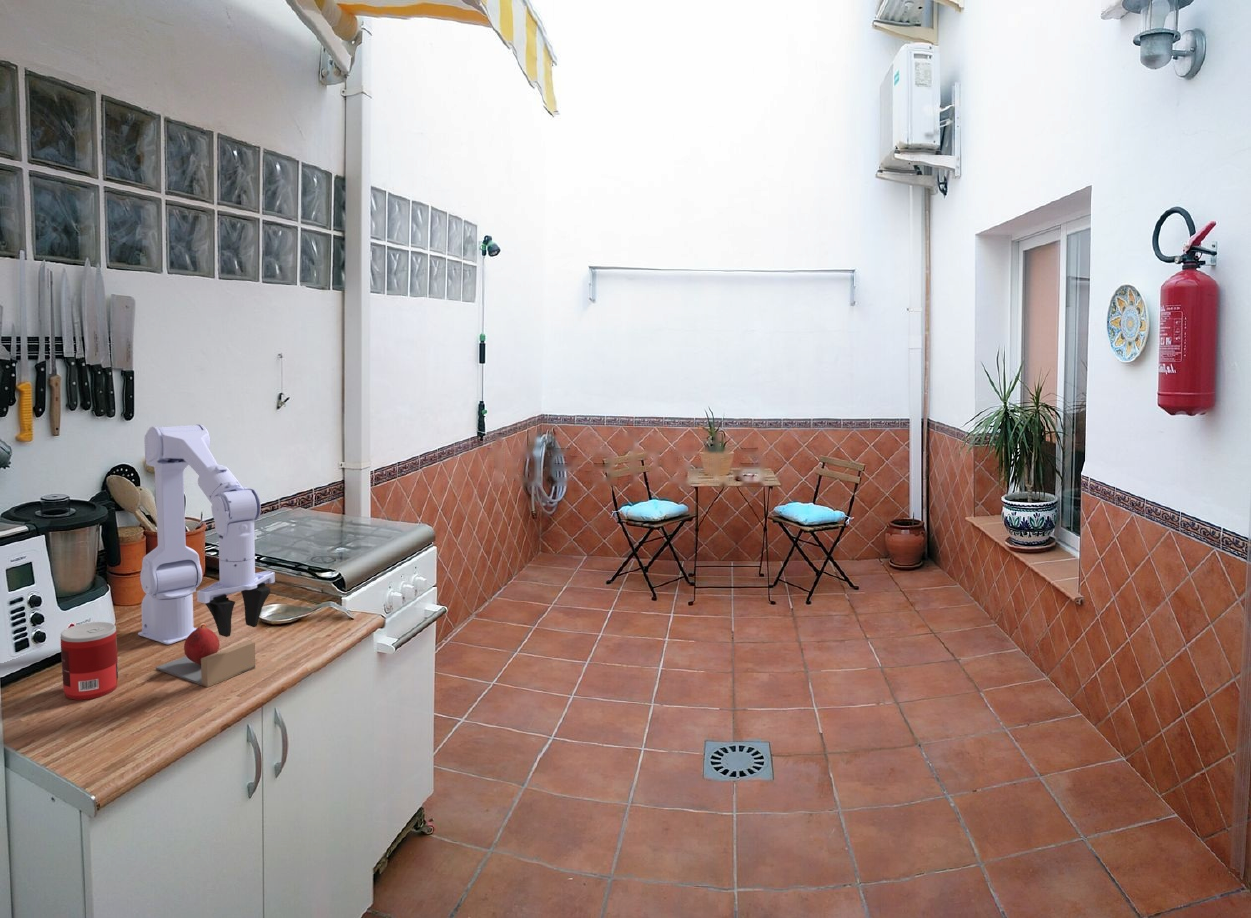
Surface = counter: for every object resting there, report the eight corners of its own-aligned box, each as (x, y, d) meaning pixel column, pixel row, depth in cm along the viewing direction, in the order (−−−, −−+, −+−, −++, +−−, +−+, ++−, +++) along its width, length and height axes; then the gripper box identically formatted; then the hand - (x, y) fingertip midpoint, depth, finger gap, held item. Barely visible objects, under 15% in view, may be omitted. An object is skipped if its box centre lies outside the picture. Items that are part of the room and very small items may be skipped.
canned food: (129, 685, 142) (126, 626, 140) (85, 704, 135) (82, 641, 133) (97, 677, 144) (94, 618, 143) (52, 695, 137) (49, 633, 135)
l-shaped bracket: (155, 669, 149) (155, 643, 148) (204, 651, 158) (204, 626, 157) (207, 687, 143) (207, 660, 142) (255, 667, 152) (254, 642, 151)
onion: (204, 673, 147) (203, 631, 146) (176, 668, 149) (176, 627, 147) (226, 661, 153) (225, 620, 152) (199, 656, 154) (199, 616, 153)
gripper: (216, 571, 135) (218, 648, 137) (286, 552, 148) (287, 622, 150) (187, 563, 138) (190, 639, 140) (259, 545, 151) (260, 615, 153)
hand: (238, 630), depth 145 cm, fingers open, 5 cm apart
